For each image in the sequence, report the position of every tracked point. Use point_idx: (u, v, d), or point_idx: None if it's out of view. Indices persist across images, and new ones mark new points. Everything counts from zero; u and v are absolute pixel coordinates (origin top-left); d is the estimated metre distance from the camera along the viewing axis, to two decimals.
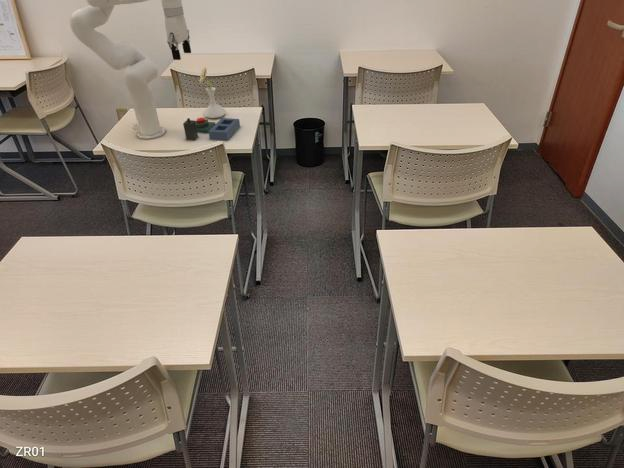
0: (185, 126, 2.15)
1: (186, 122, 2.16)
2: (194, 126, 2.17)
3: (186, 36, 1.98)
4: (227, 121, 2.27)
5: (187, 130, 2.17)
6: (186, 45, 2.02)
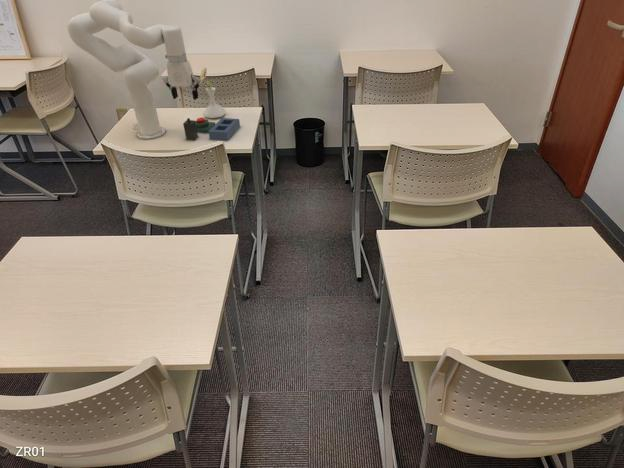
0: (185, 126, 2.15)
1: (186, 122, 2.16)
2: (194, 126, 2.17)
3: None
4: (227, 121, 2.27)
5: (187, 130, 2.17)
6: (175, 90, 2.09)
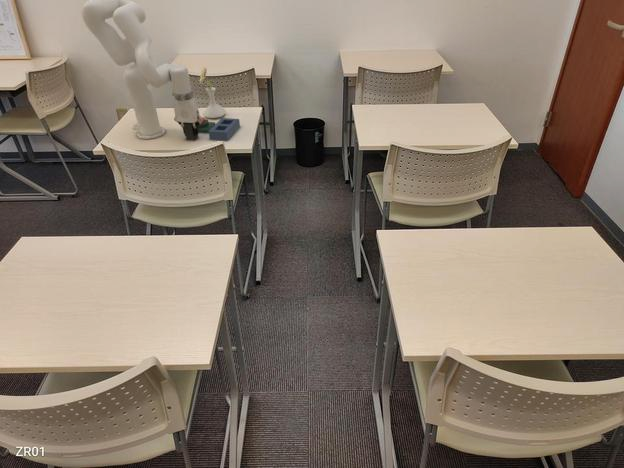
0: (185, 126, 2.15)
1: (186, 122, 2.16)
2: None
3: None
4: (227, 121, 2.27)
5: (187, 130, 2.17)
6: None
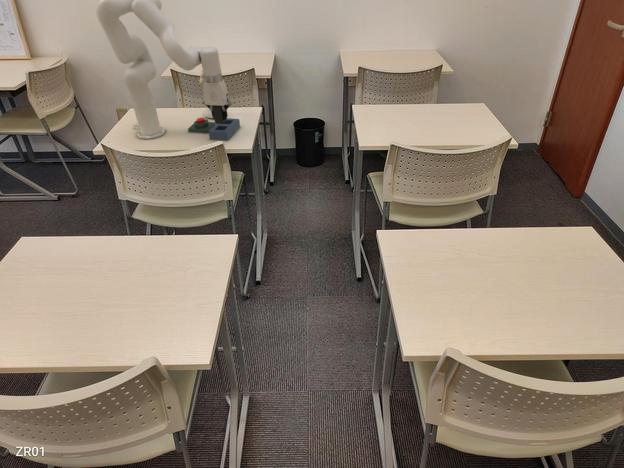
0: (214, 109, 2.12)
1: (215, 105, 2.12)
2: None
3: None
4: (227, 121, 2.27)
5: (216, 114, 2.13)
6: None
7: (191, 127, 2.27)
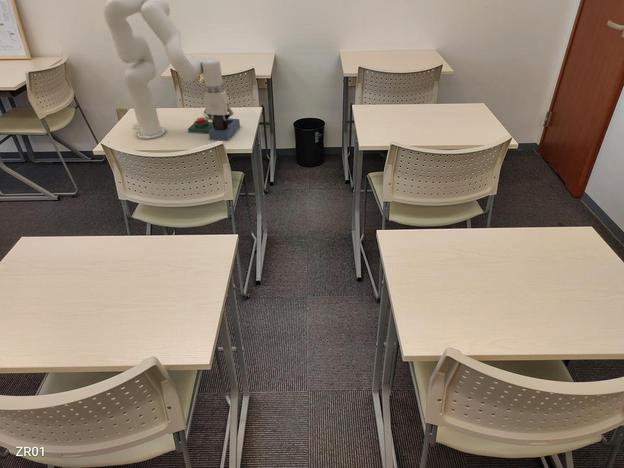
0: (215, 119, 2.15)
1: (216, 115, 2.15)
2: None
3: None
4: None
5: (216, 123, 2.16)
6: None
7: (191, 127, 2.27)
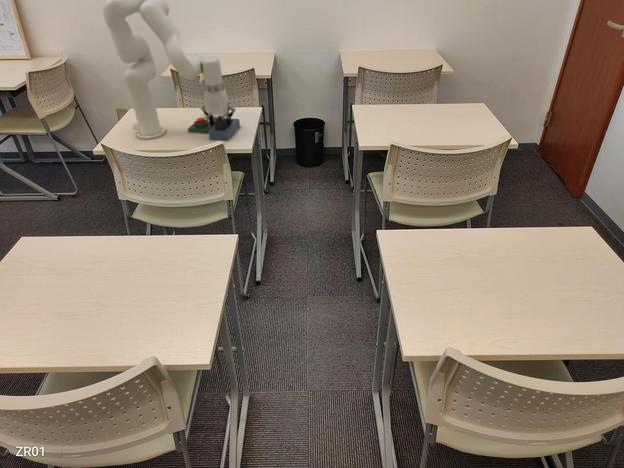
0: (216, 124, 2.16)
1: (217, 120, 2.16)
2: (225, 124, 2.18)
3: None
4: None
5: (217, 128, 2.17)
6: (212, 118, 2.18)
7: (191, 127, 2.27)
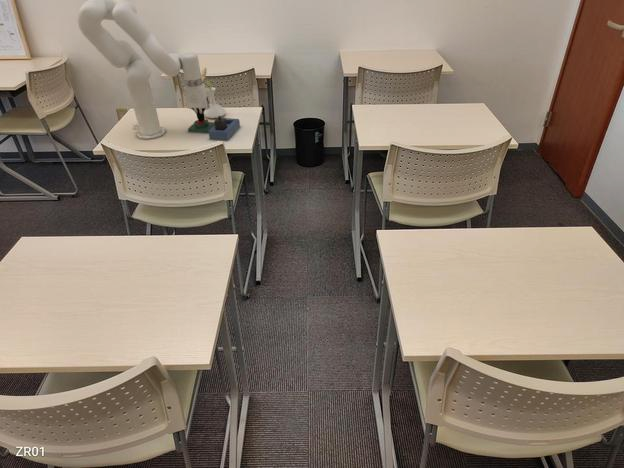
0: (216, 124, 2.16)
1: (217, 120, 2.16)
2: (225, 124, 2.18)
3: None
4: (227, 121, 2.27)
5: (217, 128, 2.17)
6: None
7: (191, 127, 2.27)
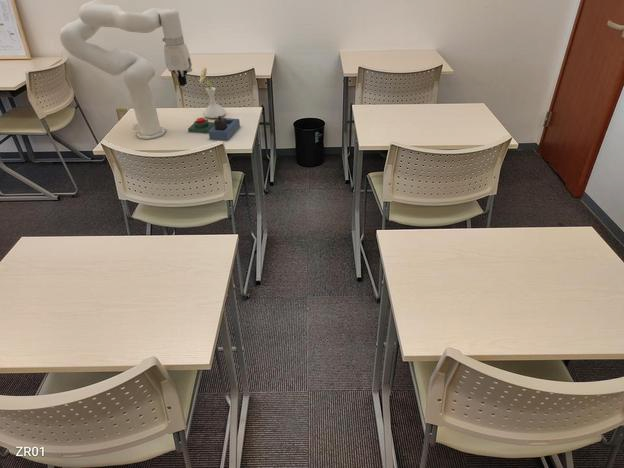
0: (216, 124, 2.16)
1: (217, 120, 2.16)
2: (225, 124, 2.18)
3: None
4: (227, 121, 2.27)
5: (217, 128, 2.17)
6: None
7: (191, 127, 2.27)
